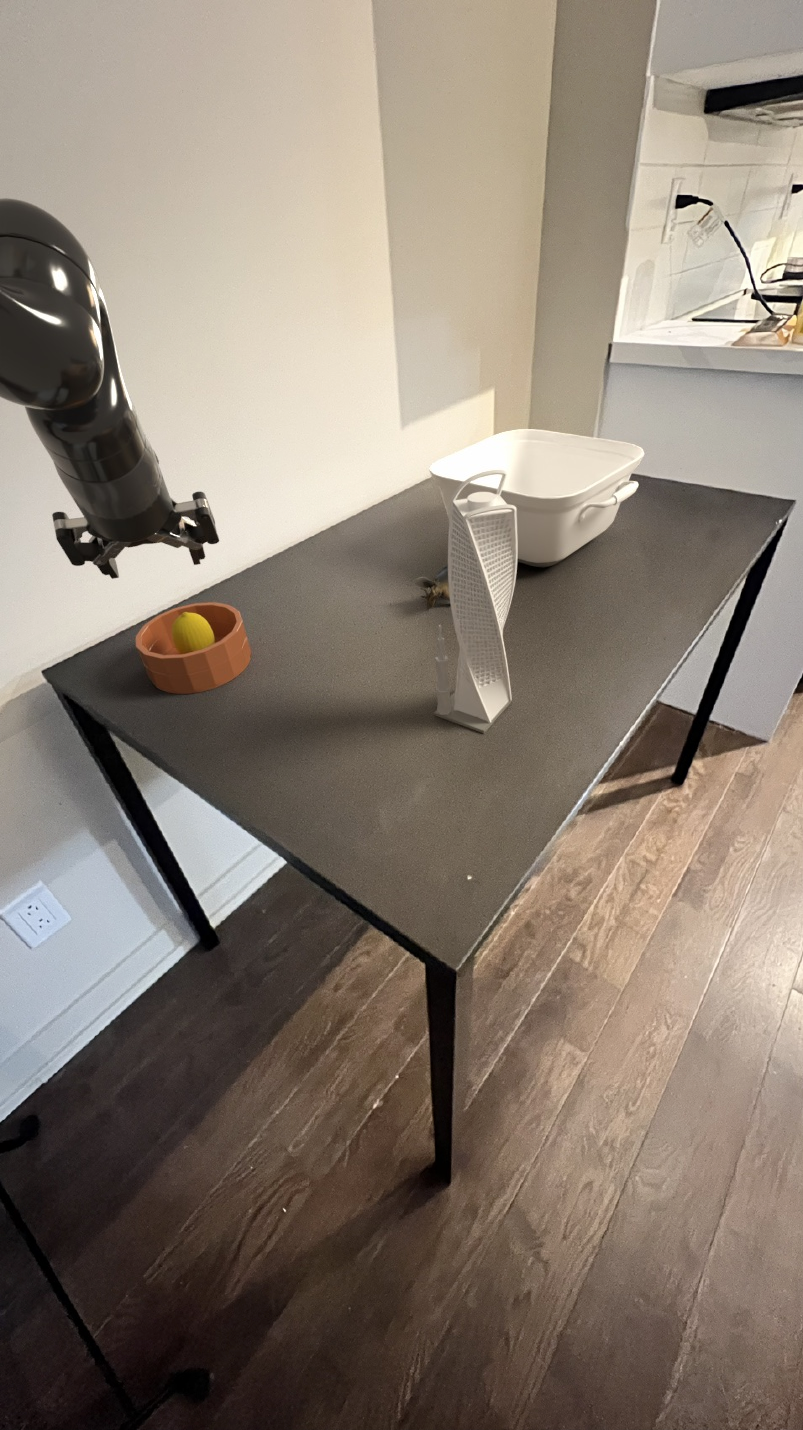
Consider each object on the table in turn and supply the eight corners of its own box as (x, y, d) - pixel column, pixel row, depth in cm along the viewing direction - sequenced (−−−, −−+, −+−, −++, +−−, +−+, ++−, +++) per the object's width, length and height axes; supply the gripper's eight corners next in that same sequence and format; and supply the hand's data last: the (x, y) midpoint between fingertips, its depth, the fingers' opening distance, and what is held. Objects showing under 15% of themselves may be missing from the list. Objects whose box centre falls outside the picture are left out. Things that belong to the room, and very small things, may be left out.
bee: (454, 615, 93) (491, 581, 97) (428, 575, 91) (466, 542, 95) (428, 623, 100) (463, 592, 103) (402, 586, 98) (439, 555, 101)
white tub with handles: (658, 535, 111) (674, 449, 101) (571, 601, 96) (580, 507, 86) (502, 499, 130) (503, 423, 121) (409, 549, 115) (402, 467, 106)
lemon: (174, 664, 91) (156, 616, 86) (205, 646, 94) (189, 599, 89) (197, 676, 88) (179, 627, 83) (228, 657, 91) (213, 609, 86)
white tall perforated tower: (469, 679, 82) (464, 462, 65) (525, 697, 78) (536, 471, 61) (434, 715, 77) (419, 489, 60) (492, 736, 73) (494, 501, 56)
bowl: (134, 695, 86) (118, 659, 82) (170, 638, 97) (158, 604, 94) (236, 692, 85) (225, 655, 81) (261, 634, 96) (252, 600, 92)
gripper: (28, 530, 50) (92, 607, 65) (209, 503, 53) (229, 583, 68) (14, 448, 51) (80, 543, 67) (191, 426, 54) (215, 522, 70)
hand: (155, 563), depth 68 cm, fingers open, 8 cm apart
